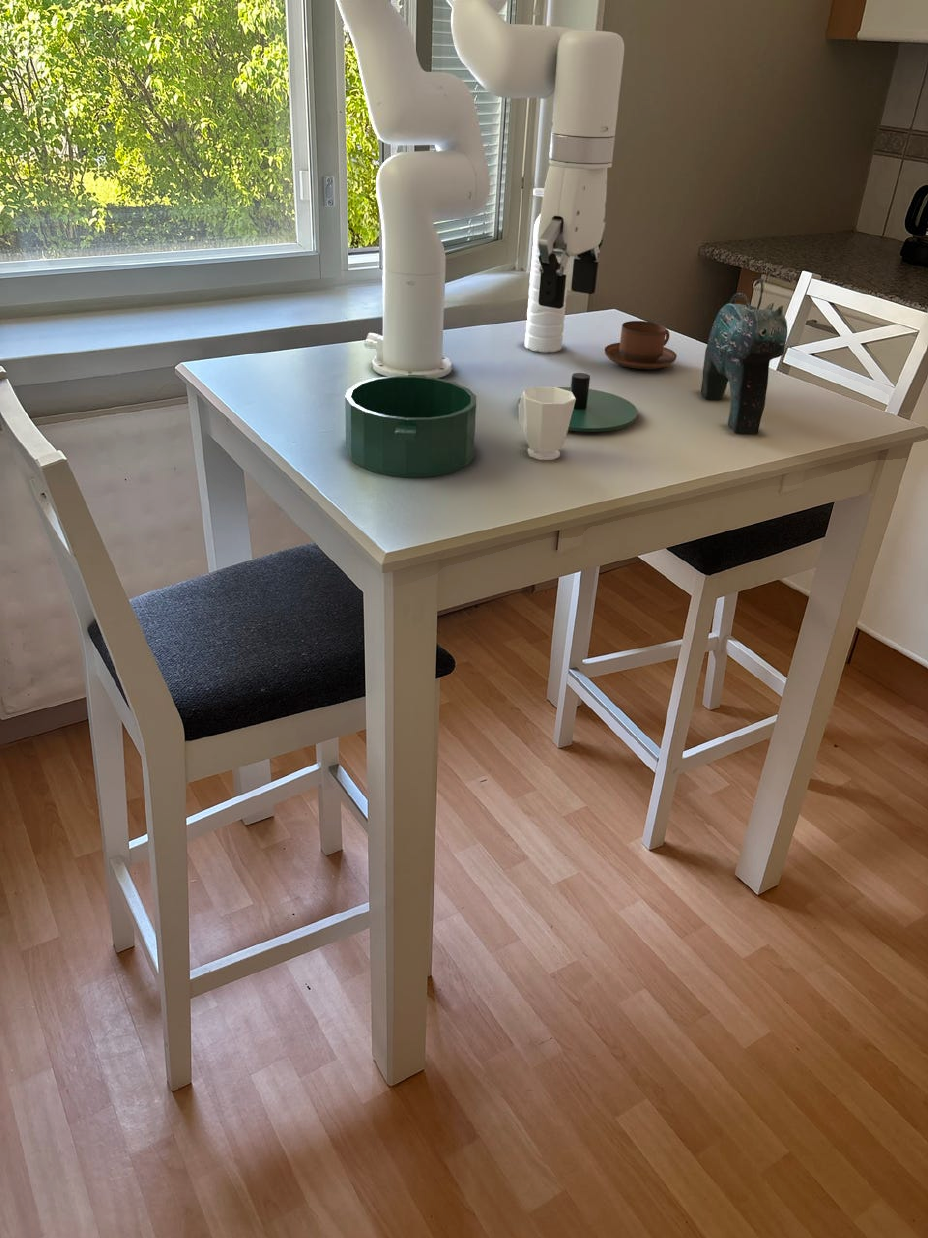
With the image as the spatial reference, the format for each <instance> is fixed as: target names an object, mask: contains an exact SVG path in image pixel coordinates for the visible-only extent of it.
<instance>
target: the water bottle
mask: <svg viewBox="0 0 928 1238" xmlns="http://www.w3.org/2000/svg"><path fill="white" fill-rule="evenodd" d="M543 193H544V187H535V188H532V196H535V197H543ZM539 223H540V214H539V215H538V217H536V220H535V222H534V225H533V239H532V244H533V245H532V251H531V254H532V255H531V262H530V263H531V266H530V272H529V273H530V275H529V288H528V298H527V300H528V301H527V311H526V319H527V320H526V321H525V322H526V323H525V331H526V332H525V334H524V348H526V349H527V350H530V351H532V352H539V353H544V354H546V353H556V352H560V351H561V349H562V348H563V340H564V339H563V338H564V335H563V333H564V328H565V323H564V322H565V318H566V312H565V311H566V308H567V301H566V300H567V296H568V286H569V277H570V273H569V272H570V266H571V264H570V262H571V256H570V257H569V259H568V262H567V265H566V267H565V270H564V272H563V274H564V275H566V284H565V295H564V305H563V307H562V308H560V309H557V308H552V307H546V306H541V305H539V289H540V277H541V273H540V270H539V269H540V261H539V256H540V252H539V249H538V247H537V242H538V232H539ZM556 258H557V261H558V263H559V260H560V258H561V257H558V256H556Z"/></svg>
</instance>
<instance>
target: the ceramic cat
mask: <svg viewBox="0 0 928 1238" xmlns="http://www.w3.org/2000/svg"><path fill="white" fill-rule="evenodd" d="M758 284H760V295H759V298H758V303H757V306H753V305H751V302H750V300H749V298H748V296H747V294H745V293H742V292H737V293H735V294H734V295H733V296H731V299H730V300H729V302H728V303H726V304H725V305H723V306H722V307H721V308H720V310H719V311H718V312H717V314H716V317H715V319H714V321H713V324H712V327H711V330H710V333H709V335H708V336H709V337H708V340H707V344H706V347H705V351H704V360H703V367H702V374H701V375H702V377H701V384H700V394H701V396H702V397H703V398H704V399H705V400H715V401H716V400H717V401H719V400H722V399H724V396H725V393H726V390H727V387H728V386H729V392H730V393H729V394H730V409H729V414H728V418H727V419H728V420H727V427H728V428H729V429H731V430H732V432H733V433H734V434H736V435H758V434H759V431H760V430H759V429H760V425H761V420H762V416H763V413H764V410H765V407H766V398H767V397H766V396H767V390H768V383H769V370H770V369H769V368H770V362H771V360H773V359H777V358H780V357H783V355H784V353H785V348H786V343H787V338H788V323H787V319H786V316H785V315H784V314H783V313H784V311H783V309H784V305H780V306H779V307H778V306H777V308H775V309H774V310H773V308H774V306H775V303H774V302H772V303H770V304H769V305H767V306H766V307H765V308H764V309H760V307H761V304H762V299H763V293H764V290H765V289H764V288H765V286H764V279H763V278H758V279H757V280H756V281H755V283H754V284H753V286H754V287H756V286H757V285H758ZM738 297H741V298H744V300H745V303H746V304H743V303H733V302H734V301H736V299H737V298H738Z"/></svg>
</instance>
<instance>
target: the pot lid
mask: <svg viewBox="0 0 928 1238" xmlns="http://www.w3.org/2000/svg"><path fill="white" fill-rule="evenodd" d="M590 382H591V375H590V374H588V373H585V372H574V373H572V374H571V381H570V386H556V387H557V388H561V389H564V390H567V391H571V392H572V393H573V395H574V396H575V398H576V401H575V405H574V409H573V412H572V416H571V420H570V423H569V427H568V431H571V432H584V433H585V432H586V433H588V432H589V433H591V432H592V433H593V432H594V433H595V432H608V431H615V430H619V429H623V428H625V427H628V426H630V425H632V424H634V422H636V420H637V418H638V414H639V412H638V409H637V407H636V406H635V405H634V404H633V403H632V402H631V401H629V400H628V399H626V398H623V397H622V396H619V395H616V394H614V393H610V392H607V391H603V390H598V389H592V388H590ZM520 400H521V397H519V399H518V401H517V408H518V409H517V410H519V404H520Z"/></svg>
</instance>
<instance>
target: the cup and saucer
mask: <svg viewBox="0 0 928 1238" xmlns="http://www.w3.org/2000/svg"><path fill="white" fill-rule="evenodd" d="M669 340H670V331H669V330H668V329H667V327H666V326H664V325H662V324H660V323H657V322H652V321H644V320H631V321H625V322H624V323H622V324H621V331H620V339H619V342H614V343H611V344H609V345H607V346H605V348H604V354H605V355H606V357H607V358H608V359H609V360H610V361H612V362H613V363H615V364H617V365H620V366H623V367H627V368H630V369H631V368H632V369H637V370H656V369H663V368H666V367H668V366H670V365H672V364H673V363H674V362H675V361H676V360H677V357H678V356H677V353H676V352H675V351H673V350H672V349H670V348H667V347H665V346H666V345H667V344H668V342H669Z"/></svg>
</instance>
